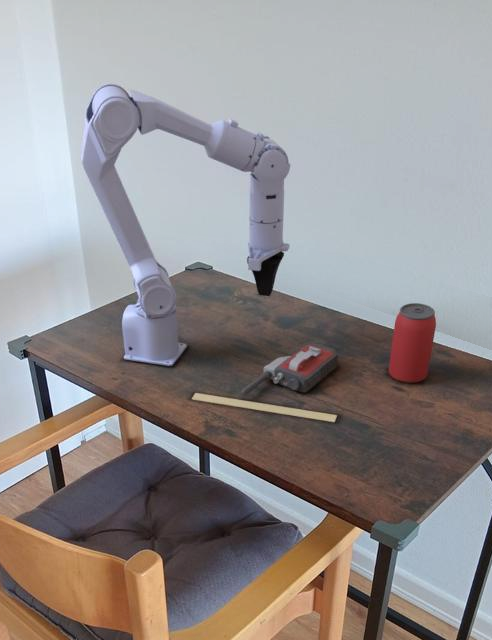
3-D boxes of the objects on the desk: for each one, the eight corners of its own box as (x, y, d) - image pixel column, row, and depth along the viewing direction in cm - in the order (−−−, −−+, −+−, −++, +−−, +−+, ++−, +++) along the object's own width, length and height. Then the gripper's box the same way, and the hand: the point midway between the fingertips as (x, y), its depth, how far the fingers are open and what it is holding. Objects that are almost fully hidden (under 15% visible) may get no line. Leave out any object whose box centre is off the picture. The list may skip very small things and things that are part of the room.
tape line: (191, 399, 125) (191, 398, 125) (195, 393, 126) (195, 392, 126) (334, 422, 118) (334, 421, 118) (337, 415, 120) (337, 415, 120)
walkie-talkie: (300, 350, 137) (236, 398, 124) (301, 328, 134) (236, 375, 122) (342, 364, 133) (281, 415, 120) (344, 341, 130) (282, 391, 117)
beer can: (430, 369, 130) (442, 305, 123) (422, 388, 126) (433, 322, 118) (393, 362, 133) (402, 299, 125) (383, 380, 128) (392, 315, 121)
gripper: (278, 235, 119) (276, 314, 128) (299, 206, 130) (296, 280, 139) (235, 231, 121) (236, 309, 130) (260, 202, 132) (259, 276, 140)
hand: (265, 294), depth 134 cm, fingers closed
